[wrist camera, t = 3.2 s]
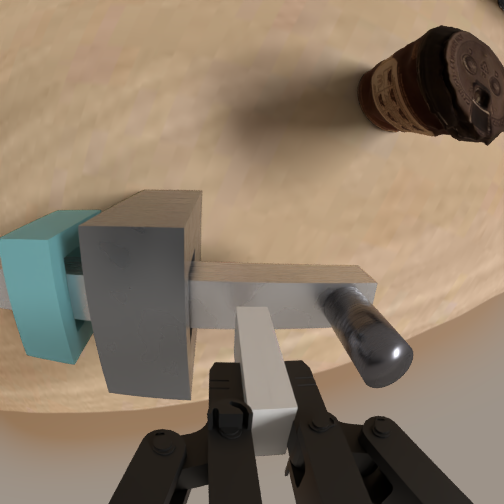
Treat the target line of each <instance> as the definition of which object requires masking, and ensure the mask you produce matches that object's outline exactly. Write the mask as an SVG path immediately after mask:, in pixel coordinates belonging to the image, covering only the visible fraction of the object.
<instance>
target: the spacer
mask: <svg viewBox="0 0 504 504" xmlns="http://www.w3.org/2000/svg"><path fill="white" fill-rule="evenodd" d="M100 213H101V210H58V211H55V212H53V213H51V214H49V215H46V216H44V217H42V218H40V219H37V220H35V221H33V222H31V223H29V224H27V225H25V226H23V227H20V228H18V229H16V230H14V231H12V232H10V233H8V234H6V235H4V236H2V237H0V257H1V263H2V268H3V273H4V278H5V282H6V287H7V291H8V295H9V299H10V303H11V307H12V310H13V314H14V317H15V321H16V324H17V327H18V331H19V334H20V337H21V340H22V343H23V346H24V348H25V351H26V354H27V355H29V356H33V357H38V358H42V359H47V360H52V361H57V362H62V363H68V364H73V365H75V363H76V361H77V360H78V358H79V356H80V354H81V353H82V351H83V349H84V347H85V346H86V344H87V342H88V341H89V339H90V337H91V336H92V334H93V328H92V323H91V321H88V320H79V319H74V315H73V310H72V305H71V300H70V295H69V289H68V283H67V277H66V271H65V264H64V257H65V256H71V257H81V253H80V243H79V231H78V226H79V225H80V224H82V223H84V222H86V221H87V220H89V219H91V218H93V217H94V216H96V215H98V214H100Z"/></svg>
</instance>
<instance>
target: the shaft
mask: <svg viewBox="0 0 504 504" xmlns="http://www.w3.org/2000/svg"><path fill="white" fill-rule="evenodd" d="M64 264H65V271H66V277H67V283H68V289H69V295H70V300H71V305H72V310H73V315H74V319H79V320H88V321H91V318H90V313H89V308H88V302H87V296H86V290H85V284H84V277H83V269H82V261H81V257H71V256H65V257H64ZM188 284H189V323H190V328H206V329H235V320H236V306H240V307H268V310H269V313H270V317H271V320H272V323H273V327H274V329H303V328H329V327H332V328H333V330H334V332H335V333H336V335H337V337H338V338H339V340H340V342H341V343H342V345H343V346H344V348H345V350H346V351H347V353H348V355H349V356H350V358H351V360H352V362H353V363H354V365H355V366H356V368H357V370H358V372H359V373H360V375H361V377H362V378H363V380H364V382H365V383H366V385H368V386H369V387H372V388H382V387H385V386H388V385H390V384H392V383H394V382H395V381H397V380H398V379H400V378H401V377H402V376H403V375H404V374H405V372H406V371H407V370H408V369H409V367H410V365H411V363H412V360H413V351H412V348H411V347H410V346H409V345H408V343H407V342H406V341H405V340H404V339H403V338H402V337H401V336H400V334H399V333H398V332H397V331H396V330H395V329H394V328H393V327H392V326H391V324H390V323H389V322H388V321H387V320H386V319H385V318H384V317H383V316H382V314H381V313H380V312H379V311H378V310H377V309H376V308H375V307H374V306H373V305H372V304H373V300H374V296H375V292H376V287H377V282H376V281H375V280H374V279H373V278H372V277H370V276H369V275H368V274H367V273H366V272H365V271H364V270H363V269H361V268H360V267H359V266H358V265H312V264H271V263H234V262H202V261H191V265H190V269H189V273H188ZM0 308H4V309H10V310H12V307H11V303H10V299H9V295H8V291H7V287H6V282H5V278H4V273H3V268H2V263H1V257H0Z"/></svg>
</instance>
